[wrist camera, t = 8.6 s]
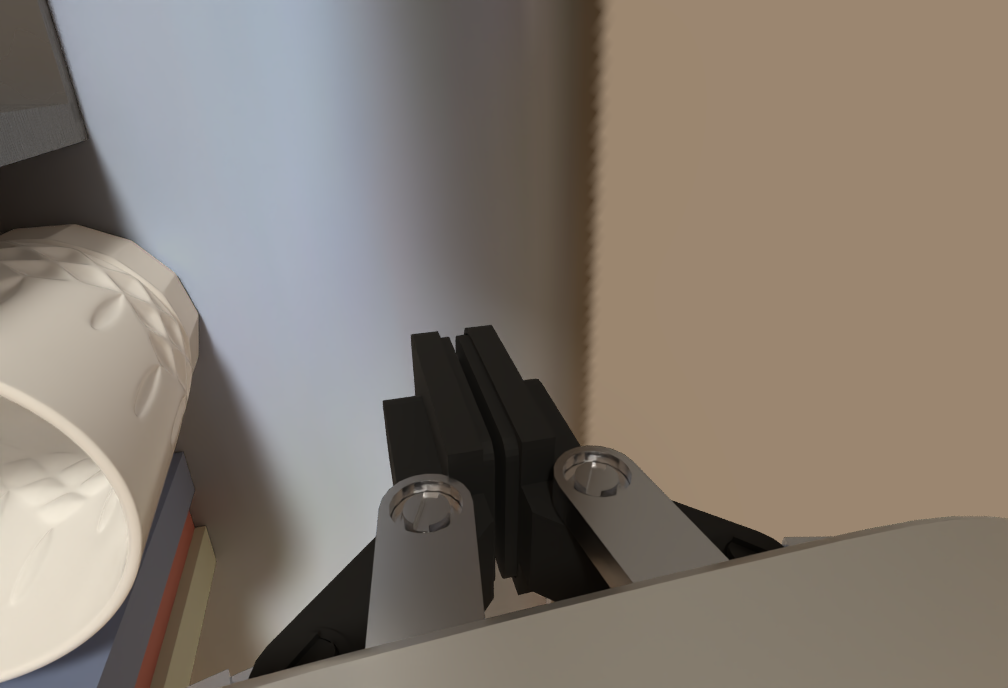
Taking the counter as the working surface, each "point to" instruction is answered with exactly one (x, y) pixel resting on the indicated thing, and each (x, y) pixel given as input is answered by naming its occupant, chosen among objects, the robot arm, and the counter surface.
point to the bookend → (34, 85)
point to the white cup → (82, 428)
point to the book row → (148, 608)
